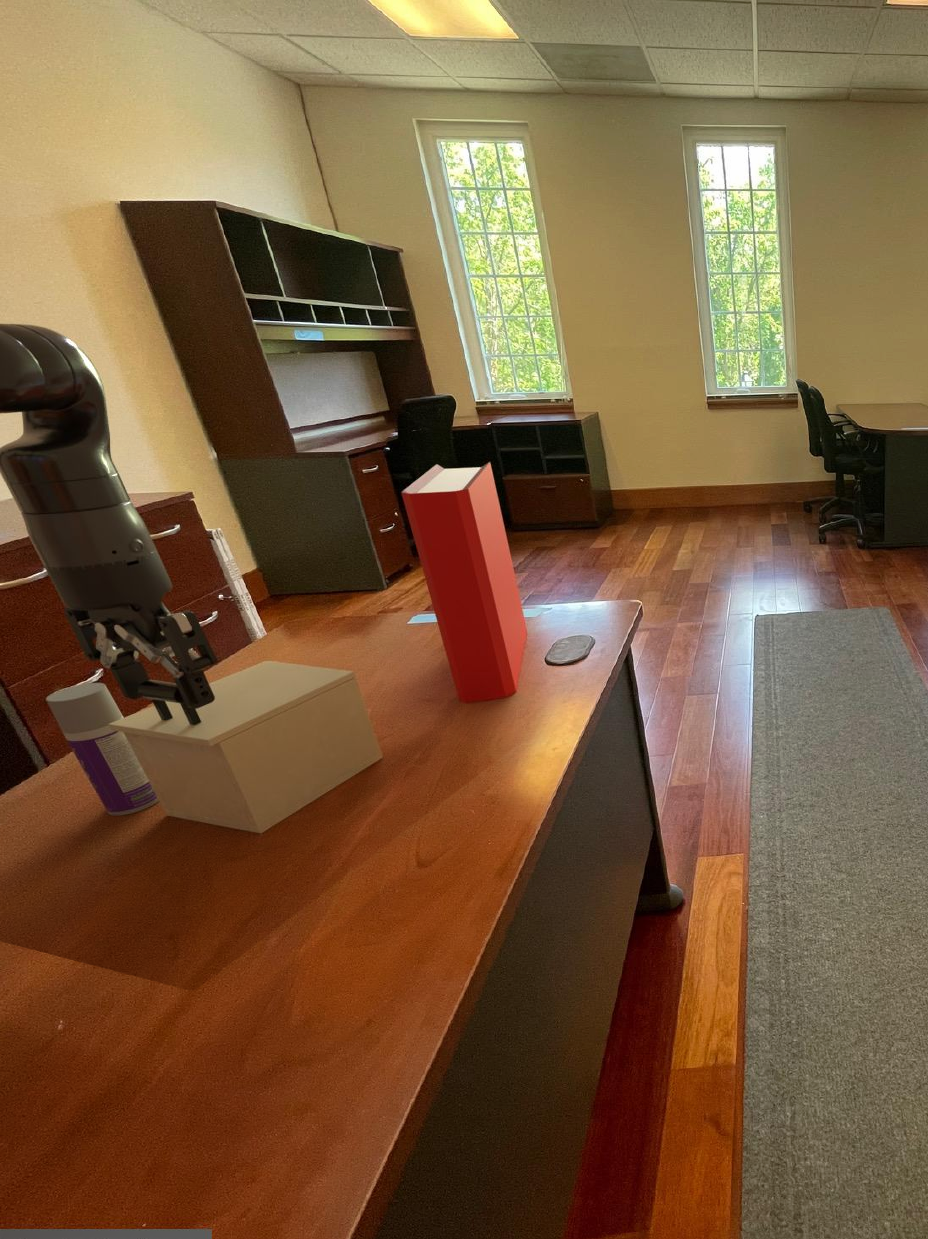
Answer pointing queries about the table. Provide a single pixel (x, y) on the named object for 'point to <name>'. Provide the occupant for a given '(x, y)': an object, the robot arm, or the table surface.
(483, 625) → the book
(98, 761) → the container
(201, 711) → the lid
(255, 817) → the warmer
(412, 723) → the table surface
